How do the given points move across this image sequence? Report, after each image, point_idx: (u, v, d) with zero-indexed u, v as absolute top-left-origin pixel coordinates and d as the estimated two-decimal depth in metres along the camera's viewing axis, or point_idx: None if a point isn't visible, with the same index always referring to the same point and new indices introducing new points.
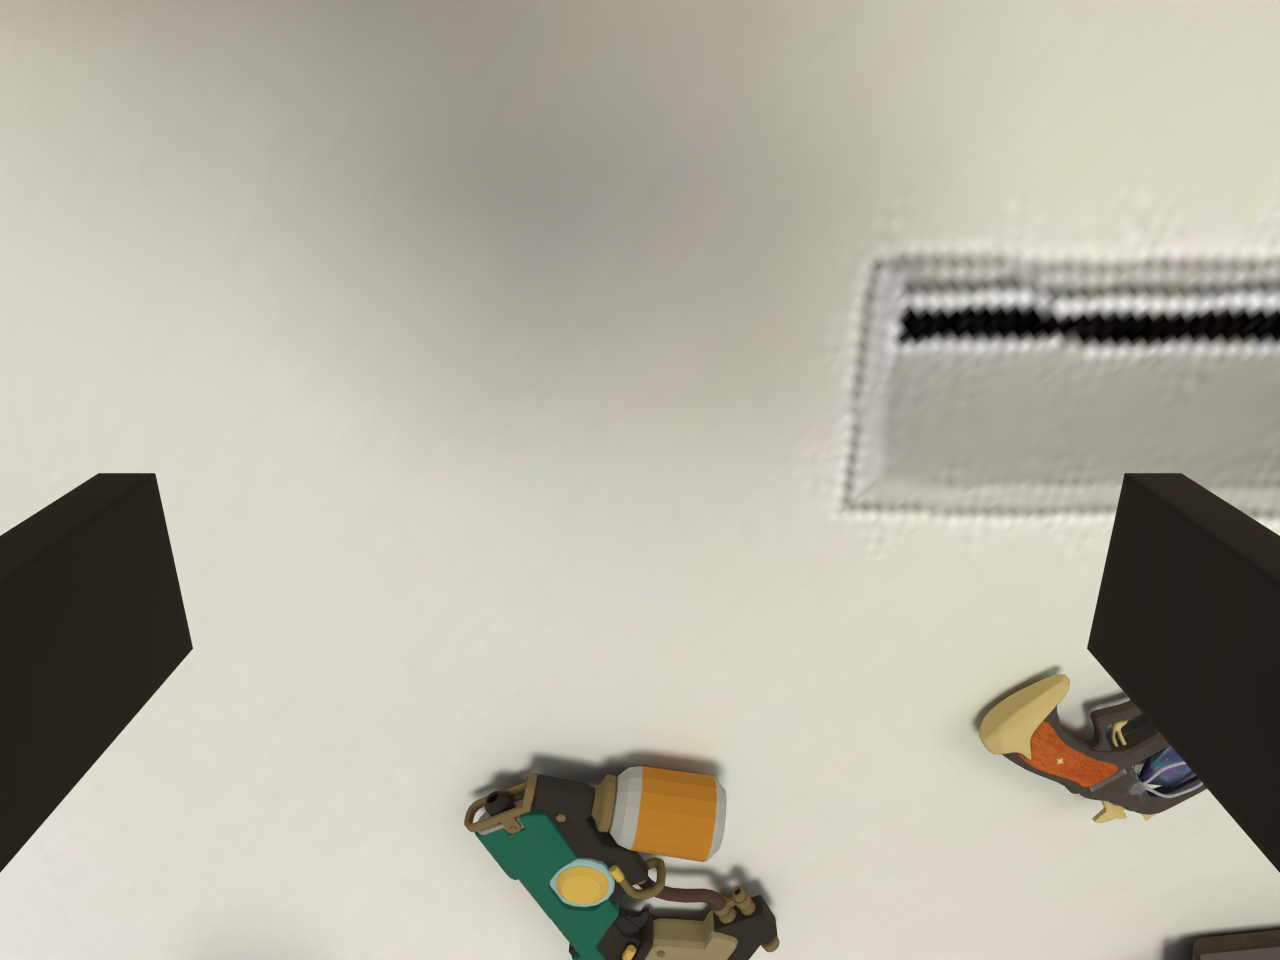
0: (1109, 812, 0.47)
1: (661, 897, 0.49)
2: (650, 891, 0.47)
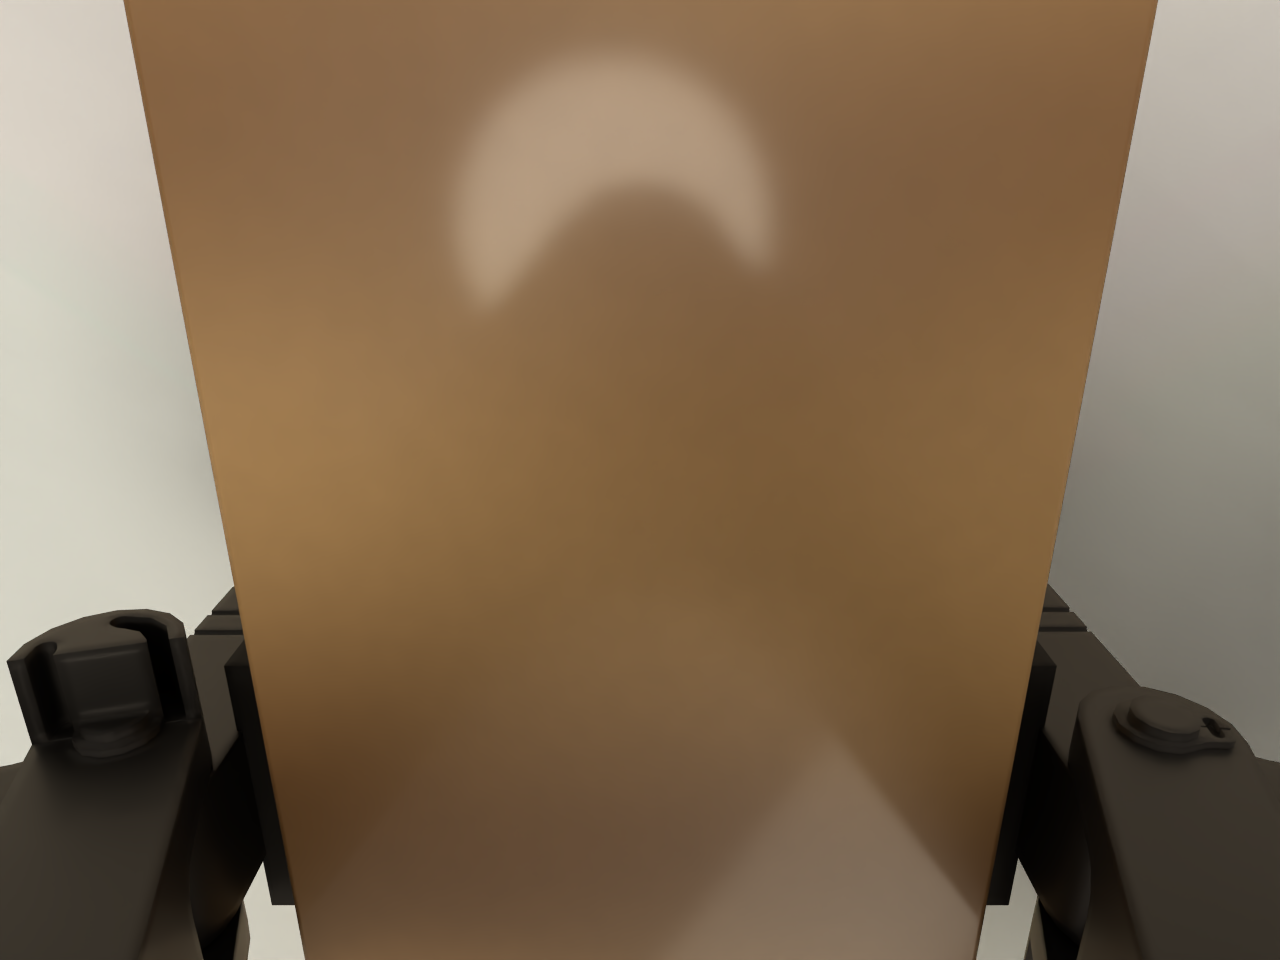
0: None
1: None
2: None
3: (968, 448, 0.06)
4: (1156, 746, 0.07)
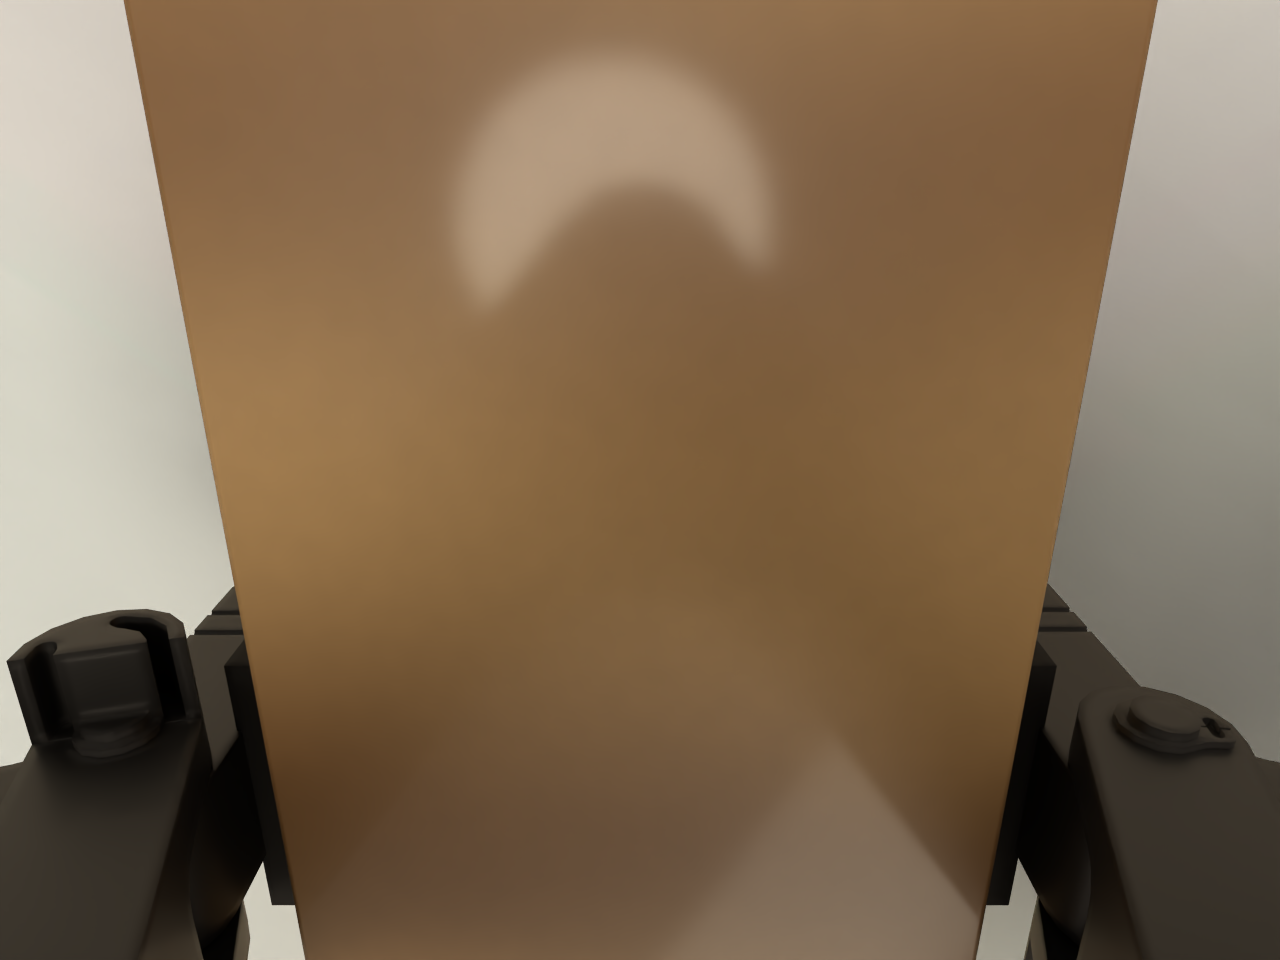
0: None
1: None
2: None
3: (968, 448, 0.06)
4: (1157, 746, 0.07)
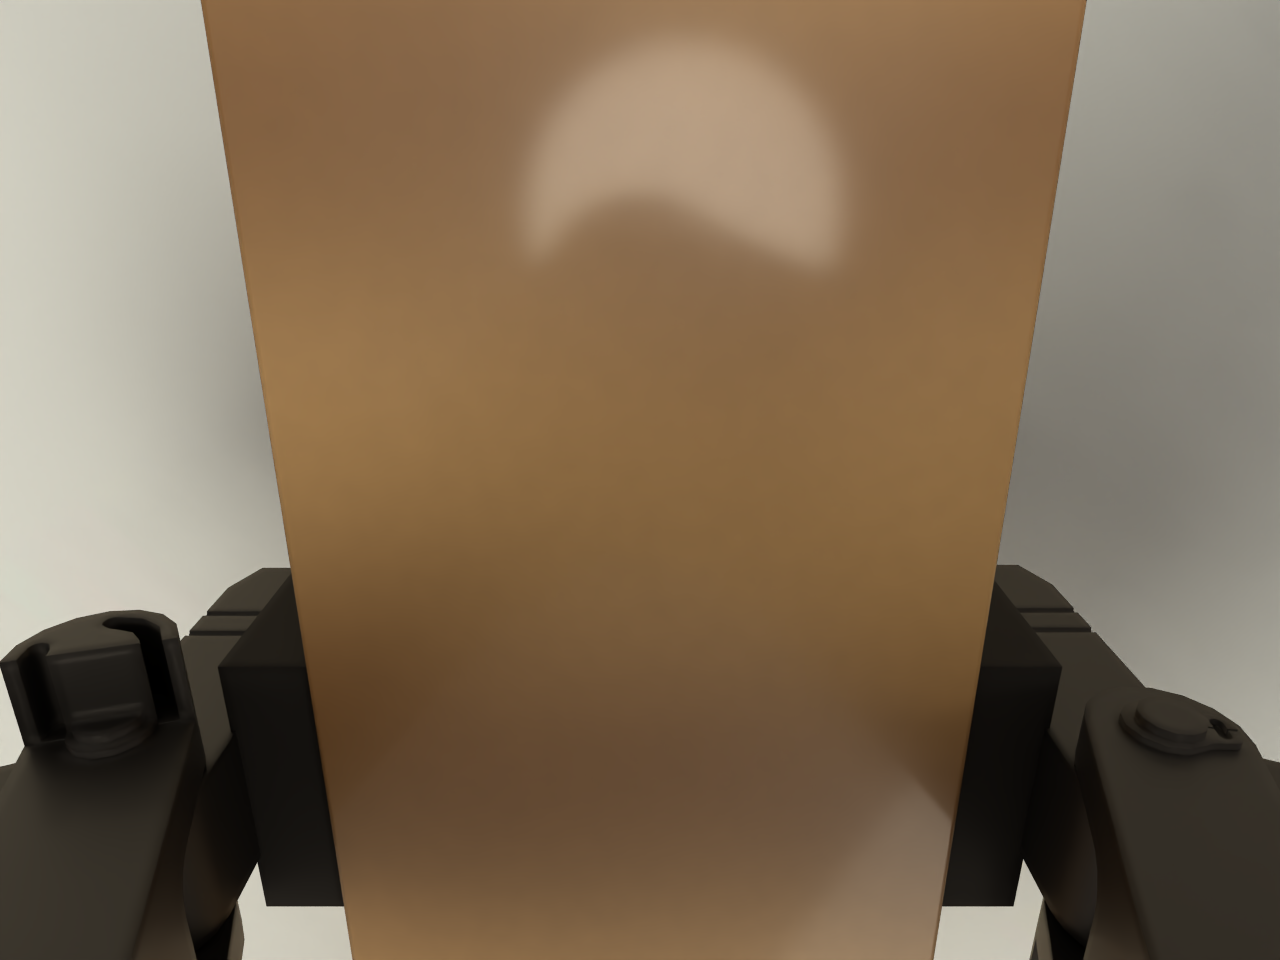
0: None
1: None
2: None
3: (931, 402, 0.07)
4: (1163, 747, 0.07)
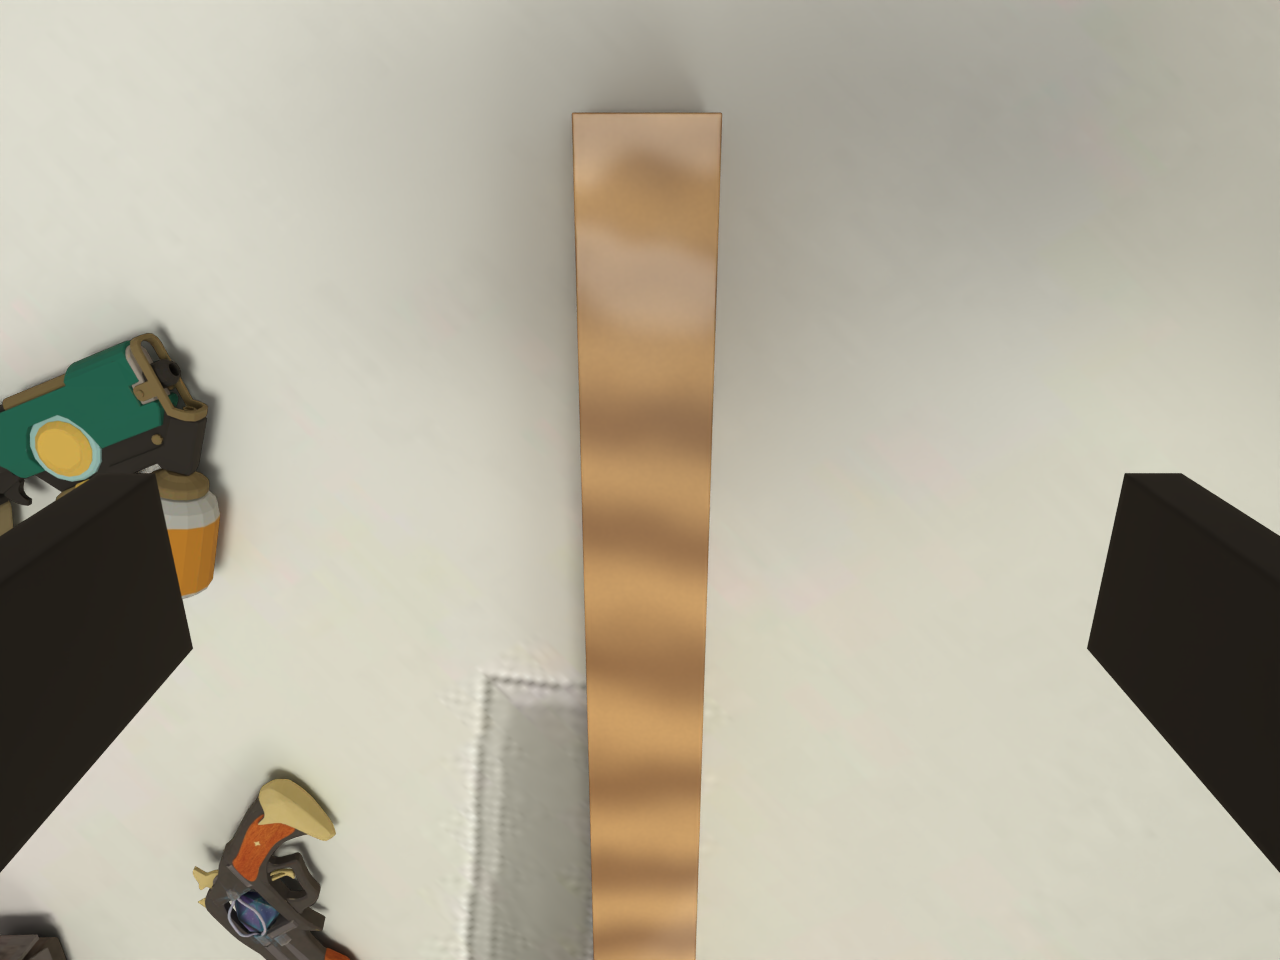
0: (204, 878, 0.54)
1: None
2: None
3: (701, 188, 0.34)
4: None
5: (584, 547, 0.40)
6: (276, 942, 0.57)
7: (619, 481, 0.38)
